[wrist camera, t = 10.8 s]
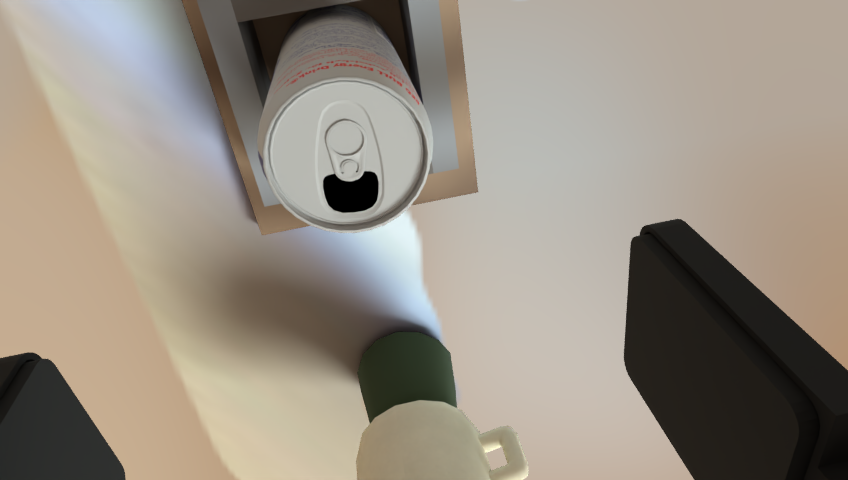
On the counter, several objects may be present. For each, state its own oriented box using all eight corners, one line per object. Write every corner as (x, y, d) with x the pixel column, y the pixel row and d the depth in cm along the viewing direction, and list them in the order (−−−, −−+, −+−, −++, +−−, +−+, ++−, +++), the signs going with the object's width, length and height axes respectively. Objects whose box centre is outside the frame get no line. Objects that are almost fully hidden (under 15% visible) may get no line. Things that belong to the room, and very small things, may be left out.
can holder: (151, -107, 24) (113, -109, 19) (437, -154, 24) (461, -166, 20) (263, 226, 32) (254, 276, 28) (473, 184, 33) (496, 227, 28)
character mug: (351, 423, 41) (362, 618, 30) (305, 355, 37) (297, 549, 26) (495, 367, 40) (560, 545, 29) (462, 292, 36) (523, 463, 25)
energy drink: (289, 122, 28) (270, 247, 18) (271, 5, 26) (238, 74, 15) (397, 114, 29) (439, 230, 19) (391, -1, 26) (436, 62, 16)
